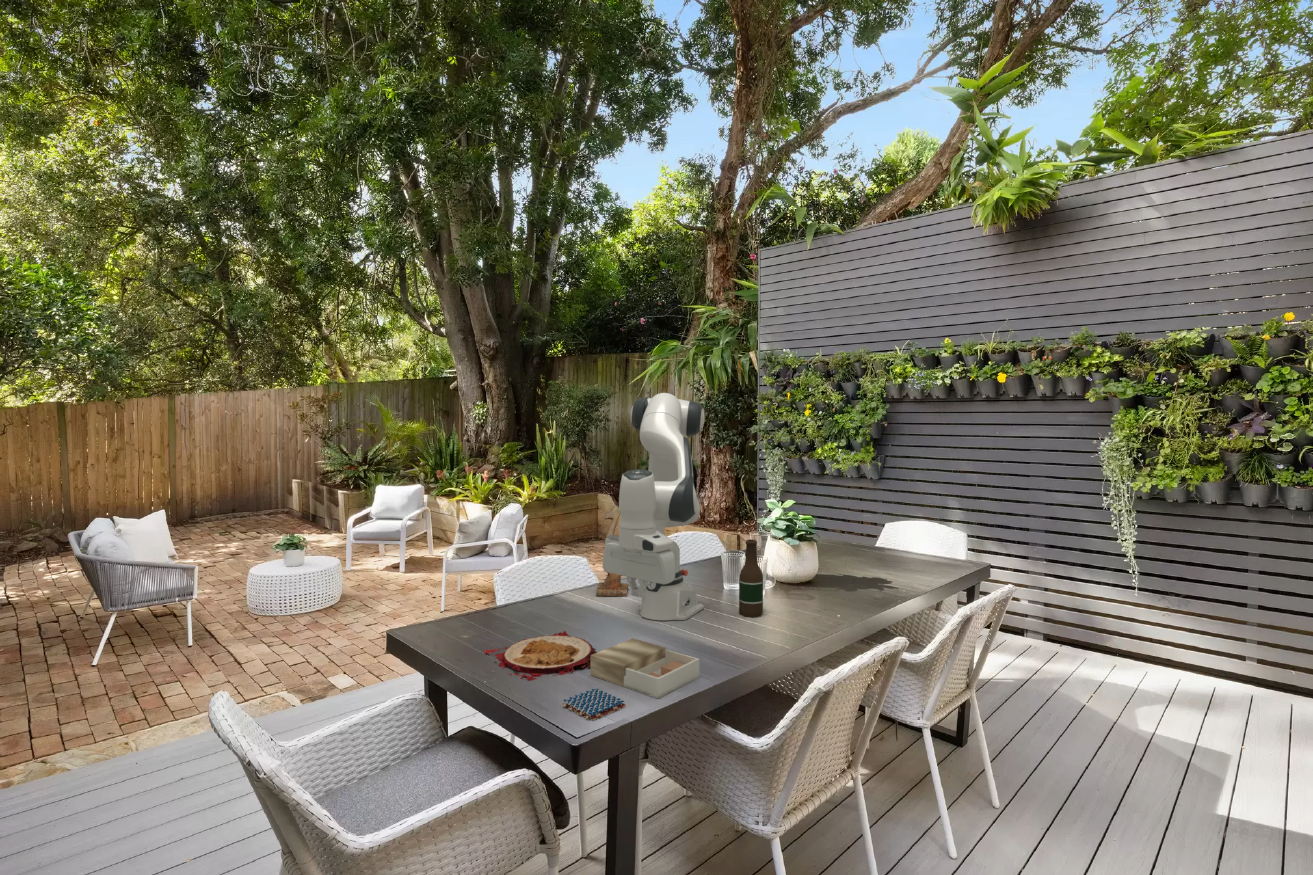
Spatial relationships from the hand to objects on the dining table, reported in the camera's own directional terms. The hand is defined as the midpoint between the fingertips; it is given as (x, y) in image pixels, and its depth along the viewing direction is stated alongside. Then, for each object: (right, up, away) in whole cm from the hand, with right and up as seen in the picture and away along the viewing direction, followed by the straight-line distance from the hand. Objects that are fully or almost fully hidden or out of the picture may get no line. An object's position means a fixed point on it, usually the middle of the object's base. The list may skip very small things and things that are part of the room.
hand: (637, 596), depth 159 cm
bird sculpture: (-11, -18, +81) cm, 84 cm away
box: (+6, -21, +1) cm, 22 cm away
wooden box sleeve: (-2, -21, +8) cm, 22 cm away
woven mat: (-9, -22, -12) cm, 27 cm away
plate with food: (-25, -21, +17) cm, 37 cm away
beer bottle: (+35, -19, +55) cm, 68 cm away
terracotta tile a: (+9, -18, +4) cm, 21 cm away
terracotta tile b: (+4, -19, -3) cm, 19 cm away
